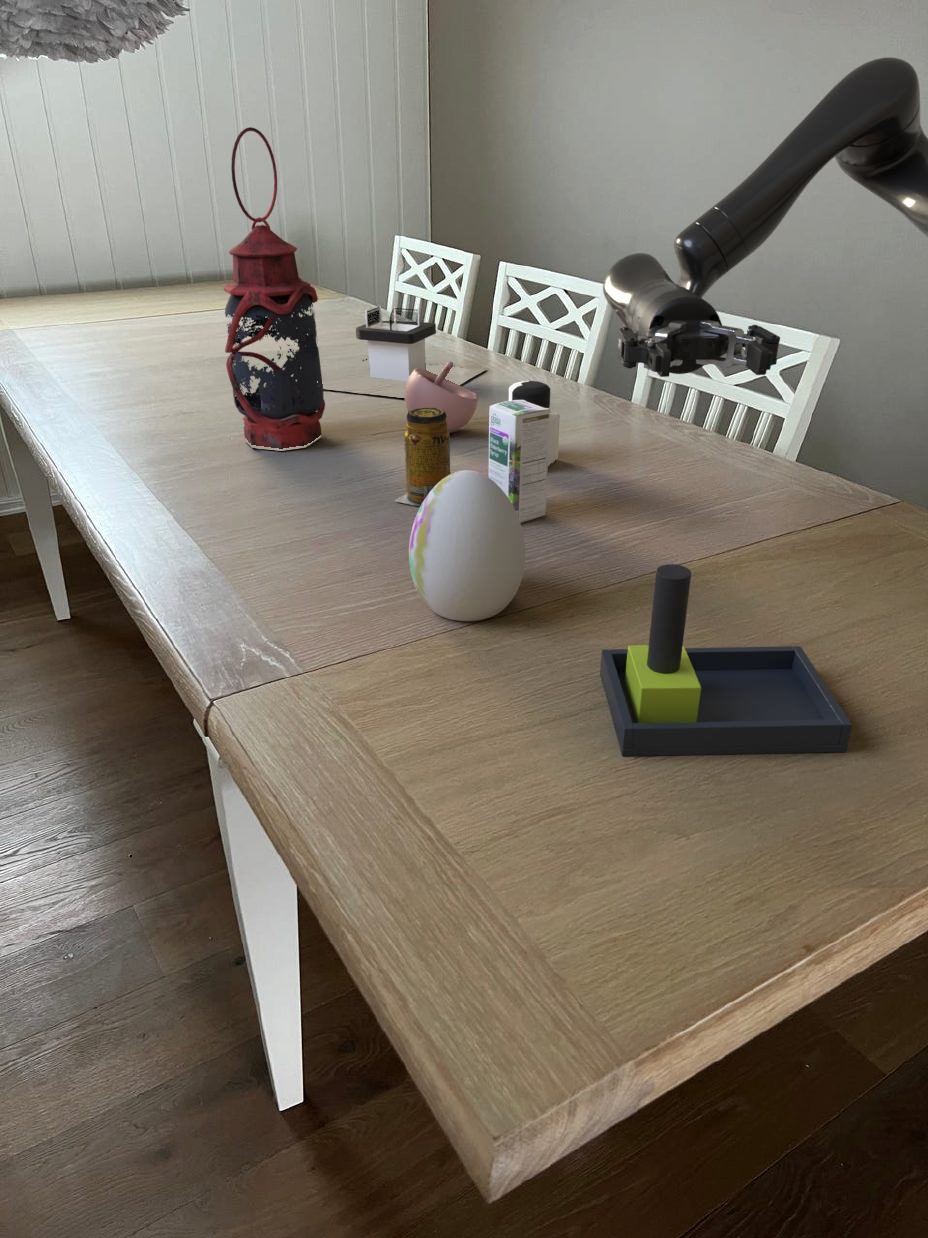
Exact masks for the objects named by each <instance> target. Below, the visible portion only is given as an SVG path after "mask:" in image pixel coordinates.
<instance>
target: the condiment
mask: <svg viewBox="0 0 928 1238" xmlns="http://www.w3.org/2000/svg"><path fill="white" fill-rule="evenodd" d="M446 417H447V416H446V412H445V411H443V410H441V409H438V408H430V407H425V408H417V409H413V410H411V411H409V412H408V411H407V414H406V429H407V430H406V431H405V433H404V453H405V460H404V462H405V481H406V493H404V494H403V495H402V496H399V497H398V498H396V499H394V502H397V503H400V504H401V503H402V504H404V505H410V506H417V507H420V506H421V505H422V503H423V501H424V499H425V498H426V497H427V495H428V494H429V493H430V491H431V490H432V489H433V488H434V487H435V486H436V485H437V484H438V483H439V482H440V481H441V480H442V479H444V478H445V477H446V476H448V475H450V474H452V473H451V443H450V438H451V437H450V433H449V432H448V430H447V422H446Z"/></svg>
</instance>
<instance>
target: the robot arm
mask: <svg viewBox="0 0 928 1238" xmlns="http://www.w3.org/2000/svg"><path fill="white" fill-rule="evenodd" d="M920 88H921V87H920V82H919V78H918V74H917V71H916V70H915V68H914V67H913V65H911V63H909V62H908V61H906V60H904V59H901V58H899V57H898V58H896V57H881V58H875V59H873V60H870V61H867V62H865V63H863V64H861V65H859V66H857V67H856V68H854V69H853V70H852V71H851V72H849V73H848V74H847V75H845V76H844V77H842V79H841V80H839V82H838V83H837V84H835V85H834V86H833V87H832V88H831V89H830V90H829V91H828V93H827V94H826V95H825V96H824V97H823V98H822V99H821V100H820V101H819V102H818V103H817V104H816V105H815V106H814V107H813V109H812V110H811V111H810V112H809V113H808V114H807V115H806V116H805V117H804V118H803V119H802V120H801V121H800V123H799V124H798V125H796V126H795V128H794V129H792V131H790V133H789V134H788V135H787V136H786V137H785V138H783V140H782V141H781V142H780V143H779V145H777V146H776V148H774V150H773V151H771V153H770V154H769V155H768V156H767V157H766V158H765V159H764V160H763V161H762V162H761V163H760V164H759V165H758V166H757V168H756V169H754V170H753V171H752V172H751V173H750V174H749V175H748V176H747V177H746V178H744V179H743V181H742V182H740V184H738V185H737V186H736V187H735V188H734V189H733V190H731V191H730V192H729V193H728V194H727V195H726V196H724V197H723V198H722V199H720V200H719V201H718V202H717V203H715V204H714V205H713V206H711V208H709V209H708V210H707V211H705V212H704V213H703V214H701V215H700V216H699V217H698V218H696V220H694V221H693V222H691V223H690V224H689V225H688V226H686V227H685V228H683V230H682V231H680V233H679V234H677V236H676V237H675V238H674V241H673V249H674V254H675V258H676V261H677V263H678V267H679V274H680V275H679V279H678V282H677V283H676V282H674V281H673V279H672V278H671V277H670V275H669V274H668V273H667V271H666V270H665V269H664V267H663V265H662V264H661V263H660V262H659V260H658V259H657V258H656V257H655V256H653V255H651V254H649V253H645V252H637V253H632V254H628V255H626V256H624V257H622V258H620V259H618V260H617V261H616V262H615V263H614V264H613V265H612V266H611V267H610V268H609V269H608V272H607V273H606V275H605V276H604V279H603V284H602V292H603V296H604V298H605V300H606V301H607V303H608V304H609V306H610V308H611V309H612V310H613V312H614V314H615V315H616V317H617V318H618V320H619V321H620V323H621V325H622V326H623V327H620V328H618V344H617V356H618V359H619V360H620V363H621V364H622V366H623V367H624V368H626V369H633V368H636V367H637V363H638V364H643V368H644V369H647V370H650V371H651V372H654V373H656V374H657V375H658V376H659V377H660V378H667V377H668V378H669V377H670V374H673V375H685V374H690V373H693V372H696V371H697V370H699V369H701V368H703V367H704V366H709V365H714V366H719V367H722V368H728V369H730V368H733V367H738V366H745V367H746V368H747V369H748V370H749V371H751V372H752V373H753V374H754V375H756V376H765V375H766V374H767V371H770V370H771V367H772V366H774V365H775V366H776V365H777V362H778V353H779V352H778V351H779V346H780V341H781V336H779V335H778V334H775V333H774V332H772V331H770V330H768V329H766V328H764V327H762V326H760V325H758V324H751V325H748V326H747V330H746V333H745V330H743V329H742V328H740V327H734V326H728V325H723V323H722V321H721V318H720V315H719V314H718V312H717V310H716V309H715V308H714V307H713V306H712V304H711V303H709V302H708V301H706V300H705V299H703V297H704V296H705V295H706V294H707V292H708V291H709V290H710V289H711V288H712V287H713V286H714V285H715V284H716V283H717V282H718V281H719V280H720V279H721V278H723V277H724V276H725V275H727V274H728V273H729V272H730V271H731V270H733V269H734V268H735V267H736V266H738V265H739V264H741V263H742V262H743V261H744V260H746V258H748V257H750V255H752V254H753V253H754V252H755V251H757V250H758V249H759V248H760V247H761V246H762V245H763V244H764V243H765V242H767V240H768V239H769V238H770V237H771V236H772V234H773V233H774V232H775V231H776V229H777V228H778V226H780V224H781V222H782V221H783V219H784V218H785V217H786V216H787V214H788V212H790V210H791V208H792V207H793V206H794V204H795V203H796V201H797V200H798V198H799V197H800V196H801V194H802V193H803V192H804V191H805V189H806V188H807V186H809V184H810V183H811V181H812V180H813V179H814V178H815V177H816V176H817V174H818V173H820V171H821V170H823V168H824V167H825V166H827V165H828V163H829V162H831V161H832V160H833V159H834V158H835V161H836V163H837V165H838V167H839V168H840V169H841V171H842V172H843V173H845V175H846V176H847V177H849V178H850V179H852V180H853V181H854V182H855V183H857V184H859V185H860V186H861V187H863V188H865V189H866V190H867V191H869V192H870V193H872V194H874V195H875V196H877V197H878V198H879V199H881V200H883V201H884V202H886V203H888V204H889V205H890V206H891V207H892V208H894V209H895V210H897V211H898V212H899V213H900V214H902V215H903V216H904V217H905V218H906V219H907V220H908V221H909V222H910V223H911V224H912V225H913V226H914V227H915V228H917V229H918V230H919V232H920V233H922V234H923V235H924V236H925V237H926V238H928V137H927V135H926V134H925V132H924V130H923V128H922V125H921V90H920ZM743 348H744V354H742V352H743V351H742V350H743ZM724 355H726V357H724ZM743 355H744V356H743ZM722 356H723V357H722Z"/></svg>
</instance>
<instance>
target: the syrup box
mask: <svg viewBox="0 0 928 1238" xmlns="http://www.w3.org/2000/svg"><path fill="white" fill-rule="evenodd" d="M488 409H489V410H488V411H489V415H488V472H487V473H488V474H487V475H488V476H487V477H488V478H490V479H491V480H492V481H494V482H495V483H496V484H497V485H498V486H499V487H500V488H501V489H502V490H503V492H504V493H505V494H506V496H507V497H508V498H509V500H510V501H511V503H512V505H513V506H514V509H515V511H516V513H517V515H518V518H519V520H520V523H521V524H523V523H525V522H529V521H531V520H535V519H537V518H541V517H544V516H546V510H547V488H548V487H547V486H548V468H549V466H548V446H549V424H550V413H551V408H550V409H548V408H543V407H541V406H538V405H535V404H532V403H529V402H526V401H525V400H511V401H509V400H505V401H501V402H498V403H495V404H491V405H489V408H488Z"/></svg>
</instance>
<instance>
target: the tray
mask: <svg viewBox="0 0 928 1238" xmlns="http://www.w3.org/2000/svg"><path fill="white" fill-rule="evenodd" d="M685 650H686V652H687V655H688V657H689V659H690V662H691V664H692V667H693V669H694V671H695V674H696V676H697V679H698V681H699V683H700V686H701V694H700V701H699V708H698V716H697V722H678V723H636V719H635V716H634V713H633V709H632V706H631V702H630V699H629V695H628V692H627V688H626V685H625V675H626V663H627V652H628V648H619V649H617V648H614V649H611V648H610V649H601V653H600V655H601V656H600V671H599V676H600V679H601V683H602V687H603V691H604V695H605V698H606V702H607V705H608V709H609V712H610V717H611V720H612V724H613V729H614V732H615V734H616V738H617V742H618V746H619V749H620V750H619V751H620V753H621V756H622V757H645V756H646V757H647V756H649V757H651V756H652V757H653V756H656V757H657V756H699V755H700V756H702V755H703V756H705V755H710V756H711V755H755V754H756V755H758V754H760V755H761V754H811V753H813V754H814V753H815V754H817V753H846V752H847V749H848V745H849V741H850V737H851V732H852V729H853V723H852V721H850V718H848V716H847V714H846V713H845V712H844V710H843V708H842V707H841V705H840V704H839V702H838V701H837V699H836V698H835V696H834V695H833V693H832V692H831V690H830V688H829V687H828V685H827V684H826V683H825V680H823V677H821V675H820V673H819V672H818V671H817V669H816V667H815V666H814V664H813V663H812V661H811V660H810V658H809V656H807V653H806V652H805V651H804V649H803V647H802V646H801V645H799V646H798V645H796V646H795V645H794V646H792V645H787V646H786V645H785V646H783V645H782V646H780V645H779V646H735V647H734V646H731V647H730V646H728V647H727V646H725V647H724V646H723V647H685Z"/></svg>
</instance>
